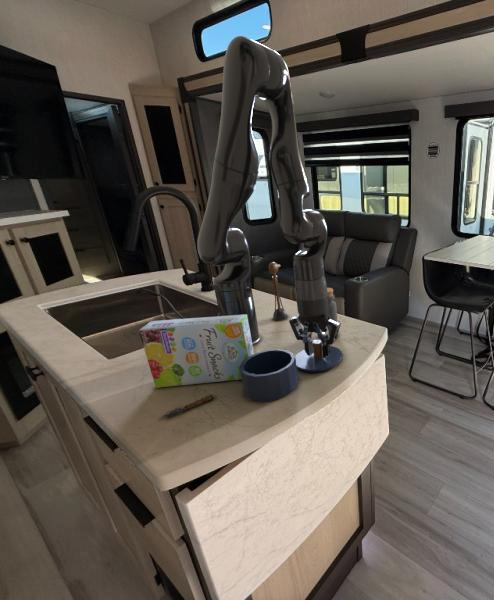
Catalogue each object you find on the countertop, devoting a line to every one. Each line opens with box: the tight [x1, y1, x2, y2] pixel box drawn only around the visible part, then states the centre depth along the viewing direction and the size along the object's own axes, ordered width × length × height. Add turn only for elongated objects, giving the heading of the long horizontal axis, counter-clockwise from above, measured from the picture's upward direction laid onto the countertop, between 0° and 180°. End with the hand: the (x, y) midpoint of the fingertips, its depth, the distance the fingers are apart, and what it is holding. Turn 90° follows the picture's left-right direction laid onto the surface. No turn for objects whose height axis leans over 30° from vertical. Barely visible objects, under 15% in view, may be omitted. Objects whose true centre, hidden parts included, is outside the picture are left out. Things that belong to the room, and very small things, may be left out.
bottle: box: [327, 287, 339, 338], centre depth 96 cm, size 6×6×15 cm
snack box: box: [138, 314, 255, 389], centre depth 75 cm, size 21×6×15 cm, turn 100°
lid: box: [294, 339, 344, 373], centre depth 84 cm, size 13×13×6 cm
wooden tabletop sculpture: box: [268, 261, 289, 322], centre depth 109 cm, size 6×5×20 cm
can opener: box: [162, 393, 214, 419], centre depth 66 cm, size 9×2×1 cm, turn 130°
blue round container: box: [240, 348, 299, 403], centre depth 73 cm, size 12×12×6 cm
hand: (318, 354), depth 84 cm, fingers open, 4 cm apart
